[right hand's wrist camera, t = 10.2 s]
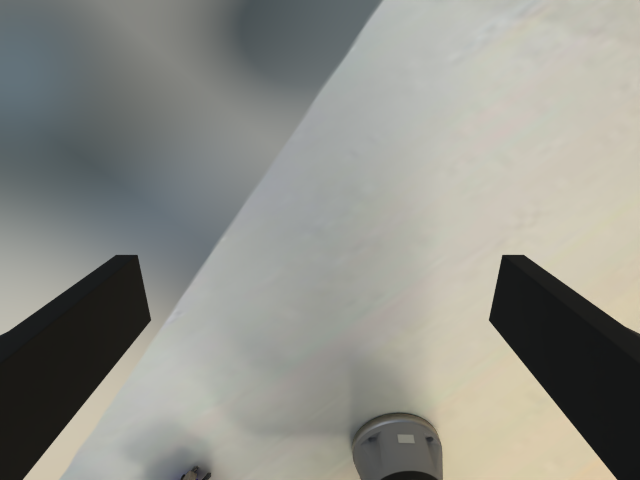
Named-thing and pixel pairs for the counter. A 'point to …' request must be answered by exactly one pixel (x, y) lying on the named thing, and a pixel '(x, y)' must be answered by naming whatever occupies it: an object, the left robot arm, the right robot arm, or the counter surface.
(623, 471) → the right robot arm
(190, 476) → the figurine character
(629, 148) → the counter surface
